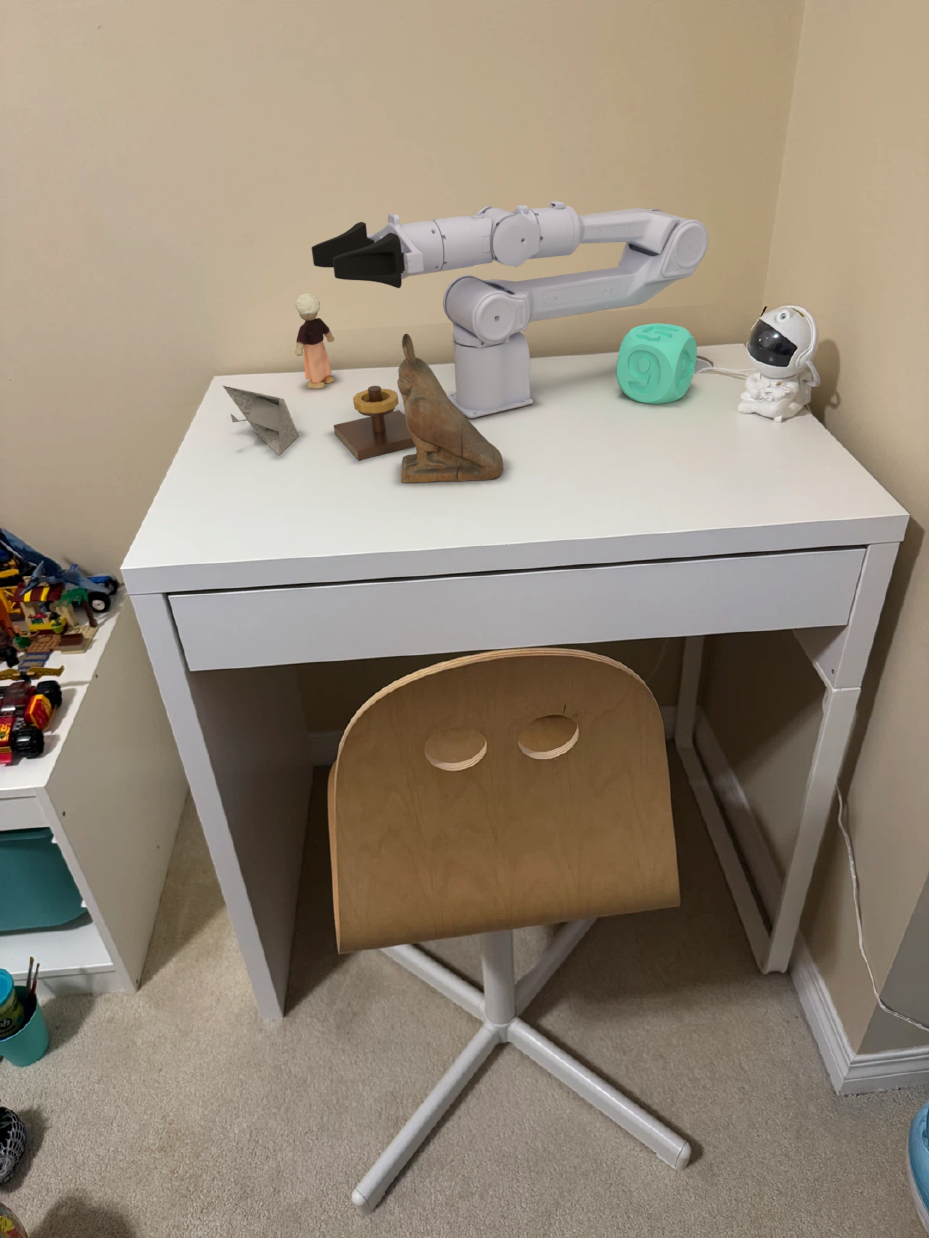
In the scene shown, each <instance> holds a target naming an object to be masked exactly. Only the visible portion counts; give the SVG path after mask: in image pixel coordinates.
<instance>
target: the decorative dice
mask: <svg viewBox="0 0 929 1238" xmlns="http://www.w3.org/2000/svg"><path fill="white" fill-rule="evenodd" d="M697 346H698V345H697V341H696V340H695V338H694V336H693V334H691V333H690V331H689V330H688V329H686V328H685V327H683V326H681V325H676V324H671V323H647V324H641V325H636V326H635V327H633V328H631V329H630V330H629V331H628V332H627V333H626V334H625V336H624V338H623V339H622V342H621V343H620V346H619V350H618V354H617V360H616V368H615V374H616V375H615V376H616V381H617V385H618V386H619V388H620V390H621V391H622V393H624V395H626V396H627V397H628V398H629V399H630V400H632V401H635V402H638V403H643V404H649V405H660V404H661V405H662V404H669V403H673V402H676V401H679V400H681V399H682V398H683V397H684V396H685V395H686V393H687V392H688V390H689V388H690V386H691V384H692V381H693V378H694V374H695V370H696V365H697V357H698V348H697Z"/></svg>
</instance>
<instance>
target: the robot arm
mask: <svg viewBox="0 0 929 1238" xmlns="http://www.w3.org/2000/svg"><path fill="white" fill-rule="evenodd" d="M603 243H604V244H605V243H609V244H610V243H625V244H624V247H623V250H622V252H621V255H620V258H619V261H618V264H617V265H618V266H616V267H607V268H601V269H595V270H588V271H587V270H586V271H580V272H574V273H567V274H566V273H565V274H559V275H552V276H551V275H550V276H545V277H538V278H531V279H524V280H516V281H515V280H506V279H497V278H492V279H481V278H478V277H477V276H474V275H472V274H463V275H460V276H458V277H456V278H454V279H453V280H451V282H450V283H449V284H448V286H447V287H446V289H445V291H444V294H443V298H442V308H443V311H444V314H445V316H446V317H447V319H448V320H449V321H450V322H451V323H452V330H453V331H452V344H453V345H452V346H453V347H452V348H453V363H454V378H455V379H454V380H455V381H454V382H455V393H450V394H447V397H448V398H449V399H450V400H451V401H452V403H453V404H454V405H455V406H456V407H457V408H458V409H459V410H460V411H461V412H462V413H463V415H464V416H465V417H466V418H467V419H474V418H479V417H484V416H488V415H492V414H497V413H500V412H504V411H508V410H513V409H516V408H520V407H525V406H529V405H532V404H533V403H534V399H532V398H531V353H530V349H529V345H528V341H527V339H526V337H525V335H524V334H523V333H522V332H525V331H526V330H527V329H528V327H529V323H533V322H540V321H546V320H553V319H557V318H564V317H570V316H571V317H572V316H576V315H577V316H578V315H584V314H589V313H597V312H601V311H602V312H603V311H609V310H615V309H620V308H627V307H634V306H639V305H642V304H644V303H646V302H647V301H649V300H650V299H652V298H653V297H655V296H656V295H658V294H659V293H660V292H661V291H663V290H665V289H666V288H668V287H669V286H670V285H671V284H673V283H674V282H677V281H680V280H683V279H686V278H689V277H692V276H693V274H694V273H695V271H696V270H697V268H698V266H699V265H700V264H701V262H702V260H703V259H704V257H705V255H706V253H707V250H708V246H709V232H708V230H707V227H706V226H705V225H704V223H702V221H700V220H697V219H693V218H689V219H688V218H685V217H682V216H678V215H674V214H671V213H668V212H665V211H663V210H662V209H660V208H659V209H658V208H655V207H654V208H648V209H647V208H642V207H633V208H626V209H618V210H610V211H603V212H597V213H588V214H581V215H579V214H578V212H577V211H576V210H575V209H574V208H573V207H572V206H570V205H566V203H565V202H564V201H560V200H552V201H550V203H549V206H546V207H545V206H544V207H532V208H529V207H528V205H525V204H518V205H516V206H515V209H514V210H513V211H512V212H511V211H508V210H506V209H503V208H500V207H492V205H487V206H485V207H483V208H481V209H480V210H478V212H477V213H476V214H474V215H458V216H450V217H444V218H443V217H442V218H435V219H428V220H422V221H415V222H407V223H401V221H400V216H399V215H398V214H396V213H388V215H387V224H386V225H385V226H384V227H382V228H381V229H380V230H378V231H377V232H374V233H368V230H367V223H366V222H364V221H359V222H356V223H355V224H354V225H353V226H352V227H350V228H349V229H348V230H346V231H345V232H343V233H341V234H339V235H337V236H335V237H333V238H330V239H327V240H325V241H321V242H319V243H317V244H315V245H312V246H311V256H312V262H313V263H312V264H313V266H315V267H317V268H318V267H319V268H328V269H329V268H333V274H334V278H335V279H338V280H344V281H345V280H346V281H364V282H373V283H380V284H384V285H388V286H391V287H394V288H396V289H400V288H401V287H402V284H403V283H402V282H403V281H402V280H404V279H406V278H408V277H414V276H420V275H421V276H422V275H426V274H432V273H439V272H446V271H453V270H457V269H465V268H472V267H474V266H478V265H485V264H491V263H493V261H495V262H496V263H499V264H501V265H504V266H507V267H509V266H510V267H514V268H518V267H520V266H522V265H523V264H524V263H526V262H527V261H528V260H533V259H534V260H535V259H544V258H555V257H564V256H570V255H572V254H574V252H576V251H577V249H578V247H579V246H580V245H582V244H603Z"/></svg>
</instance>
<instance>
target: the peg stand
mask: <svg viewBox="0 0 929 1238" xmlns="http://www.w3.org/2000/svg"><path fill="white" fill-rule="evenodd" d="M381 388H382V387H381V386H380V385H371V386H368V388H367V390H368V395H369V400H368V401H365V402H372V403H373V402H381V401H384V400H386V399H382V393H381ZM357 412H358V413H359V415H362V416H365V417H363V418H358V419H354V420H348V421H345V422H340V423H337V424H333V430H334V435H335V436H336V437H337V438H338V439H339V440H340V441H341V442H342V443H343V444H344V446H345V447H346V448H347V449H348V450H349V451H350V452H351V454H352V455H353V456H354V458H356V460H357V461H361V460H365V459H369V458H374V457H378V456H382V455H385V454H389V453H394V452H399V451H402V450H405V449H410V448H415V447H416V446H415V444H414V442H413V440H412V437H411V435H410V433H409V431H408V429H407V425H406V421H405V413H404V412H402V411H401V410H400V409H397V410H396V407H395V408H394V409H391V410H388V411H386V412H381V413H362V412H360V411H358V410H357Z"/></svg>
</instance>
